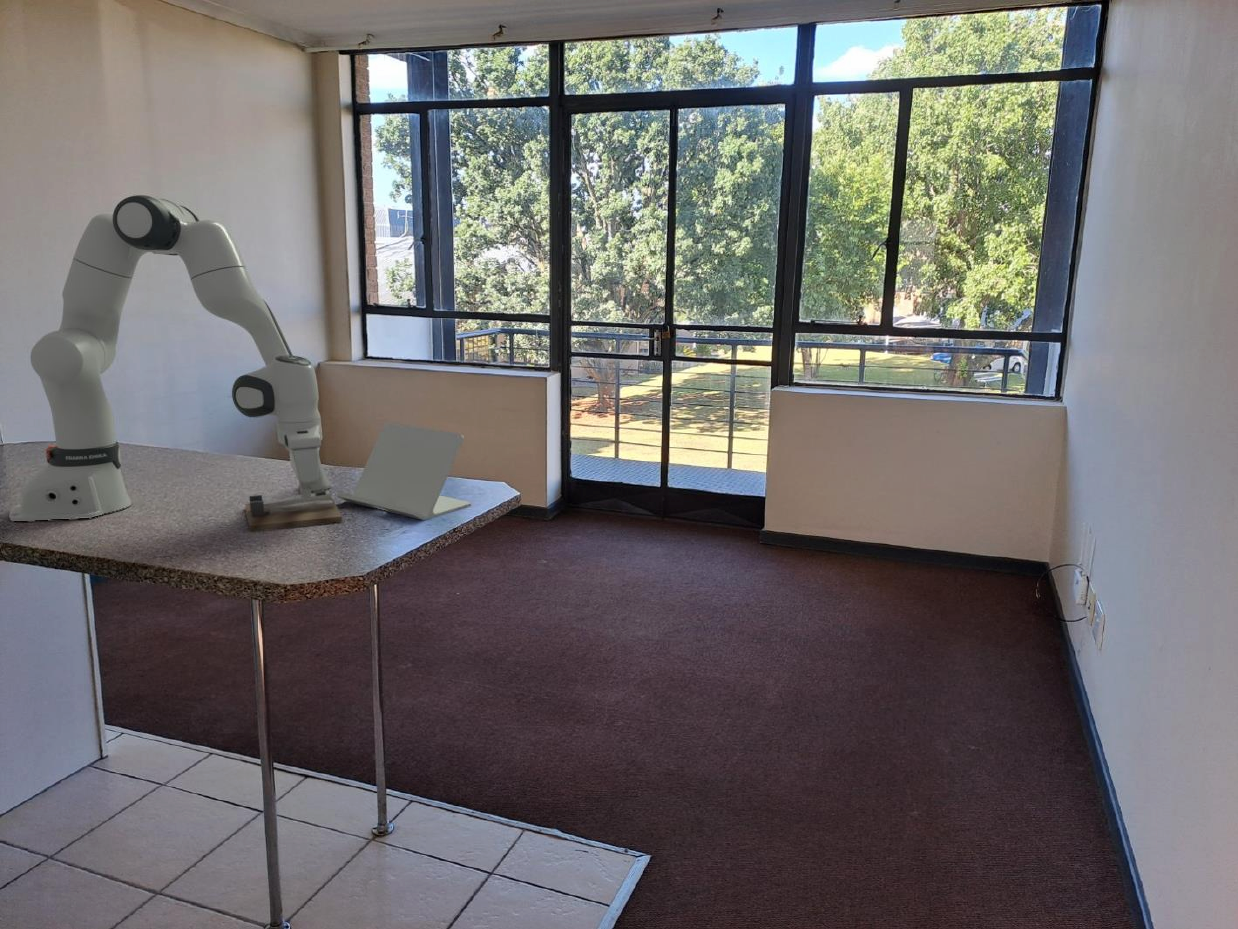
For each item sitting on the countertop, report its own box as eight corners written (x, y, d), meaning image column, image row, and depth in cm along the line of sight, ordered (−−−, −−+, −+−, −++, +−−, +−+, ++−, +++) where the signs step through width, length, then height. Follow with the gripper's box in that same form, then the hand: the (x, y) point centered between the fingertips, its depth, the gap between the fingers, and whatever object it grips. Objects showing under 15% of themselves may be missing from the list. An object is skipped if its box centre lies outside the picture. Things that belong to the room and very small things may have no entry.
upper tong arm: (253, 513, 183) (251, 504, 183) (252, 509, 187) (250, 499, 186) (332, 501, 190) (330, 491, 189) (329, 497, 193) (328, 487, 192)
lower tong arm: (252, 517, 182) (250, 502, 182) (250, 510, 188) (249, 495, 187) (334, 509, 189) (333, 495, 189) (330, 502, 194) (330, 488, 194)
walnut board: (249, 531, 177) (249, 525, 177) (245, 508, 193) (245, 503, 193) (342, 521, 184) (341, 516, 184) (330, 500, 200) (330, 495, 200)
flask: (310, 494, 206) (308, 452, 204) (293, 489, 210) (290, 448, 208) (337, 488, 212) (334, 447, 209) (319, 483, 216) (316, 443, 214)
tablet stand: (397, 489, 212) (394, 420, 208) (473, 506, 199) (471, 432, 195) (335, 505, 198) (331, 431, 194) (413, 524, 184) (410, 445, 180)
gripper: (279, 426, 194) (286, 487, 197) (288, 442, 176) (295, 509, 179) (309, 424, 196) (315, 483, 199) (321, 439, 178) (327, 505, 181)
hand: (306, 496), depth 189 cm, fingers closed, pressing on upper tong arm
